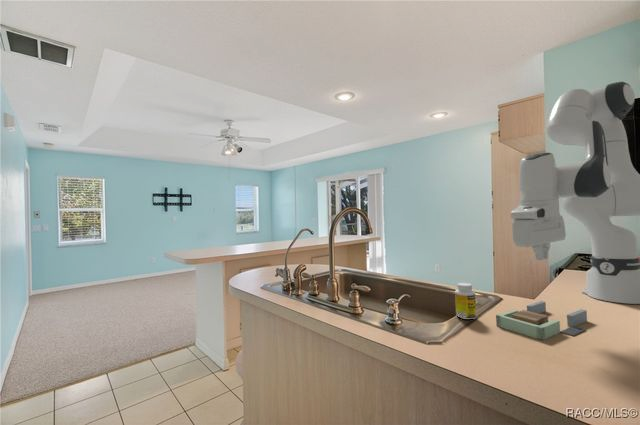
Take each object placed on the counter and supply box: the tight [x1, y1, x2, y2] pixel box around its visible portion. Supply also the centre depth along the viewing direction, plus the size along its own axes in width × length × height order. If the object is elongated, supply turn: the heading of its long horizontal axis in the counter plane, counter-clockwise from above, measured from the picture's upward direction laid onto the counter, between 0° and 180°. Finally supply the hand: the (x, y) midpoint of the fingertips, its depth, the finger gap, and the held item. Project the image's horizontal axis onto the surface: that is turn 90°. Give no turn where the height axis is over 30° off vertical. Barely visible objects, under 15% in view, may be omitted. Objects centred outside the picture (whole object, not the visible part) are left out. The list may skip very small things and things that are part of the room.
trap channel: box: [495, 300, 588, 341], centre depth 83 cm, size 23×17×3 cm
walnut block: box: [512, 309, 549, 325], centre depth 80 cm, size 6×6×4 cm
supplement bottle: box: [454, 282, 477, 320], centre depth 90 cm, size 6×6×10 cm
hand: (541, 259), depth 84 cm, fingers closed
